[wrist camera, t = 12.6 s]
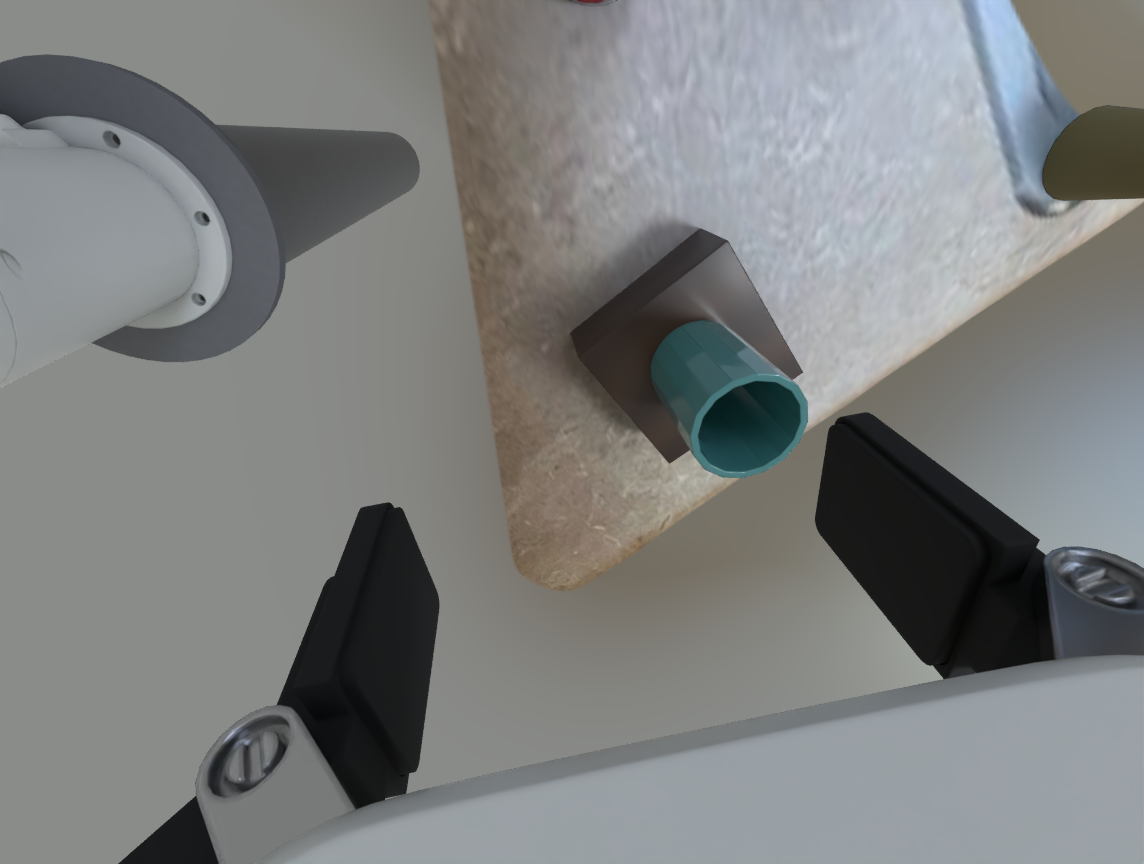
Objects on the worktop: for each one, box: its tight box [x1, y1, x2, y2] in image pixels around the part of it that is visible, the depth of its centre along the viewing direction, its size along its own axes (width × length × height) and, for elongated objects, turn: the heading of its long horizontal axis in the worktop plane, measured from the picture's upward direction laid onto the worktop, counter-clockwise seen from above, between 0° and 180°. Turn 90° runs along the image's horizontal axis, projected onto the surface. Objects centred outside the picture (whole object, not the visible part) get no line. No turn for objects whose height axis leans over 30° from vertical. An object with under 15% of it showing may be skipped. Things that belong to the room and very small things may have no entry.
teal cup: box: [650, 320, 808, 478], centre depth 32 cm, size 7×7×9 cm
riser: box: [570, 229, 803, 463], centre depth 38 cm, size 12×12×5 cm
